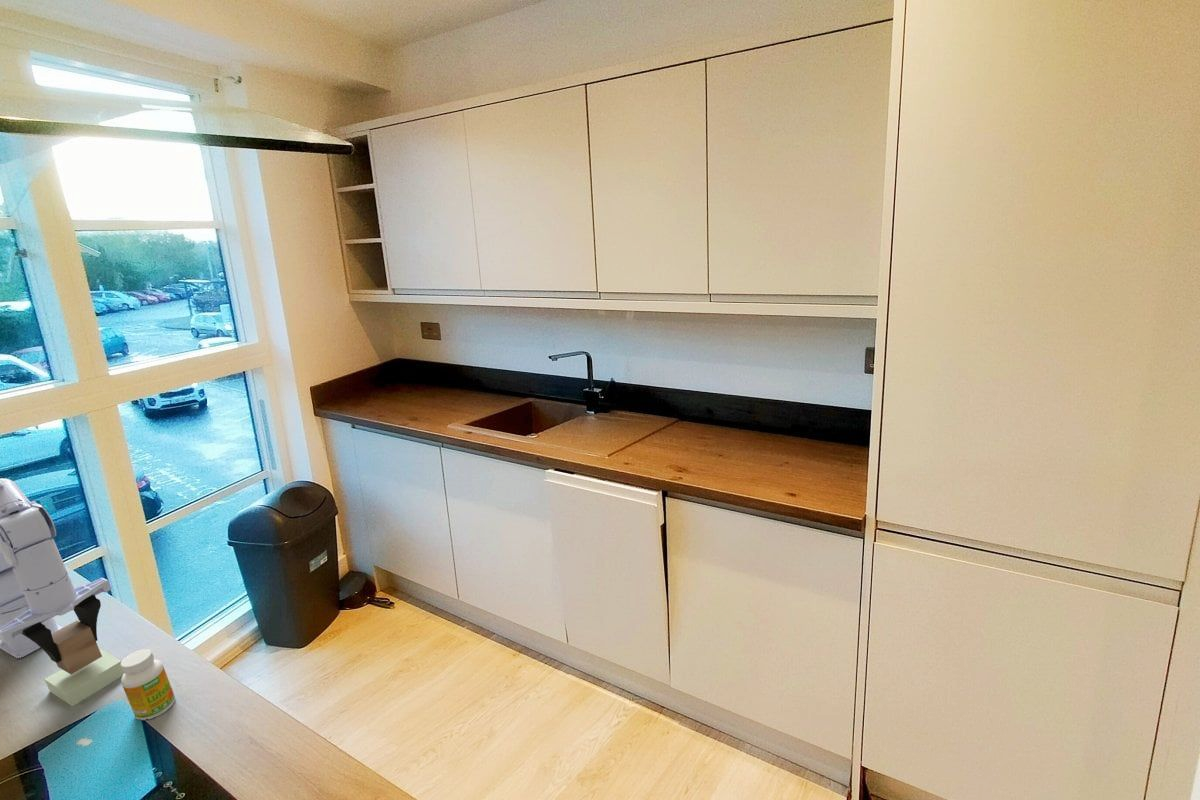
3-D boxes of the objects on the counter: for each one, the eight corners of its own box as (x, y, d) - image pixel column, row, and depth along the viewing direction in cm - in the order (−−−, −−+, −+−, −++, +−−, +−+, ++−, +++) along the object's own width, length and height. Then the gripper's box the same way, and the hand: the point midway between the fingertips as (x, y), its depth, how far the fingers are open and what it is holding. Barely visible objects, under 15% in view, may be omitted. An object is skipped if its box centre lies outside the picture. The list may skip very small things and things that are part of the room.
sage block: (50, 693, 105) (44, 679, 104) (104, 662, 111) (98, 648, 110) (73, 708, 101) (66, 693, 100) (127, 674, 107) (121, 660, 106)
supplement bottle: (155, 722, 96) (134, 671, 93) (126, 719, 97) (105, 669, 94) (183, 696, 101) (165, 646, 98) (156, 693, 102) (137, 644, 99)
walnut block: (58, 666, 104) (44, 637, 102) (88, 649, 107) (76, 620, 106) (71, 674, 102) (57, 644, 100) (102, 656, 105) (90, 627, 103)
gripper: (-2, 613, 92) (32, 687, 96) (108, 560, 104) (134, 628, 108) (-22, 602, 95) (12, 674, 99) (87, 553, 107) (113, 619, 111)
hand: (75, 650), depth 104 cm, fingers closed on walnut block, 4 cm apart
